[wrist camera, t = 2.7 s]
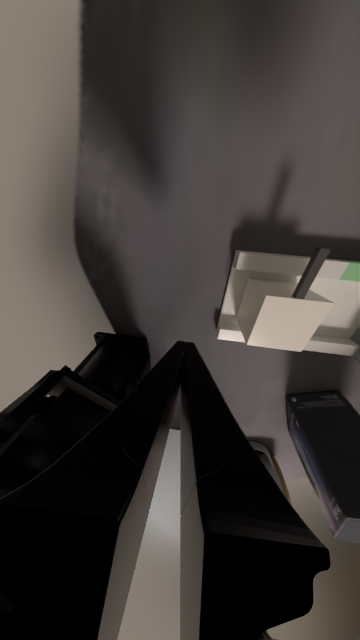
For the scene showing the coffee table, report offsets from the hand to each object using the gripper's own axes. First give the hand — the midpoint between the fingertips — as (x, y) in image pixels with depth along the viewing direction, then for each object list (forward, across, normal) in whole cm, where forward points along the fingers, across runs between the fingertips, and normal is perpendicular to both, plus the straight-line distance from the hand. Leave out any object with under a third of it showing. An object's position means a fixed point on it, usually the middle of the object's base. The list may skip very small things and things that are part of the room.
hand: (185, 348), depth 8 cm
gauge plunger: (+7, -7, -2) cm, 10 cm away
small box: (+8, -19, +16) cm, 26 cm away
